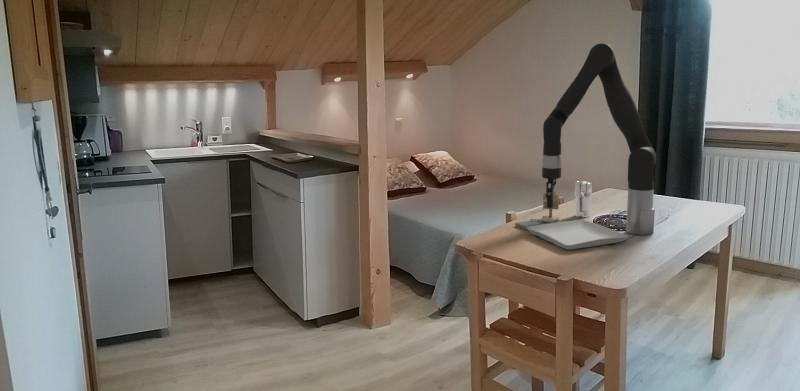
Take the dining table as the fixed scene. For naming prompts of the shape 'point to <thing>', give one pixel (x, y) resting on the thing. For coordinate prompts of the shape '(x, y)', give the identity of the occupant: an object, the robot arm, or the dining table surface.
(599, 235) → the square plate
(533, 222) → the tuning board
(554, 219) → the knob
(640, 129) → the robot arm
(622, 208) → the dining table surface
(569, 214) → the dining table surface
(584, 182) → the beer glass
